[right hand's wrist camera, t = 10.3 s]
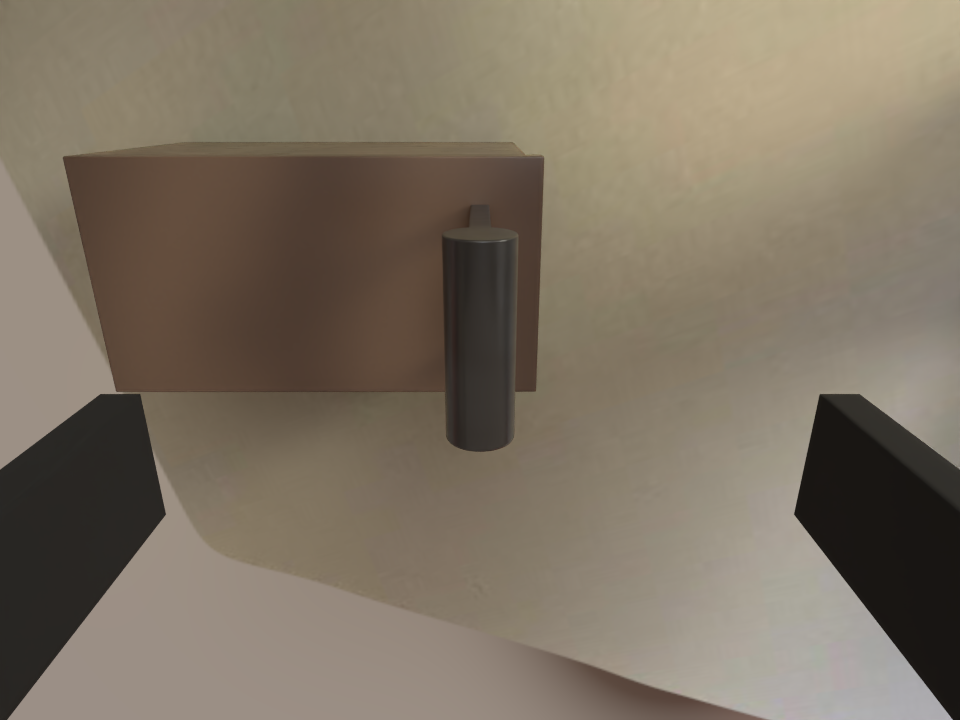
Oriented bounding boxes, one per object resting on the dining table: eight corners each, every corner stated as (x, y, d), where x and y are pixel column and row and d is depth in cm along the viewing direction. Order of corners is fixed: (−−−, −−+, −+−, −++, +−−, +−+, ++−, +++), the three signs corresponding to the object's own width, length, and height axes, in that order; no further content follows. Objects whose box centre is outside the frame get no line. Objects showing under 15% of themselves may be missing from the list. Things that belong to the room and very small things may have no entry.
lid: (541, 154, 24) (573, 177, 16) (534, 383, 28) (557, 497, 20) (77, 154, 24) (-128, 178, 16) (127, 383, 28) (-20, 498, 20)
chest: (513, 142, 33) (526, 154, 24) (510, 317, 37) (520, 382, 28) (183, 142, 33) (77, 154, 24) (211, 317, 37) (127, 382, 28)
